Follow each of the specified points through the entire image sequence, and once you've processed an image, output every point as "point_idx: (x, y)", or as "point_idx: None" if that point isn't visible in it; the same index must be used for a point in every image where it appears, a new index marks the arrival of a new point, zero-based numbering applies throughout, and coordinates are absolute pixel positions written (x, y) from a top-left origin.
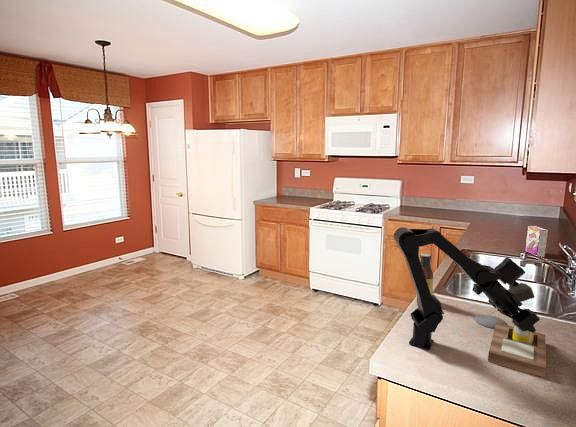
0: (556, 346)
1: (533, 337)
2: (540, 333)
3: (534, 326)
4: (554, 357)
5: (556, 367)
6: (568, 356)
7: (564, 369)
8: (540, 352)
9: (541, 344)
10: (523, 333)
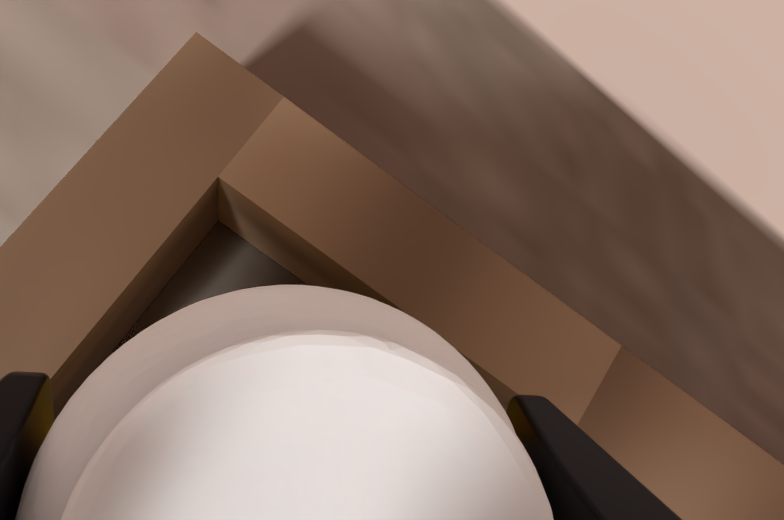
0: (291, 5)
1: (185, 237)
2: (154, 83)
3: (477, 374)
4: (542, 225)
5: (739, 356)
6: (512, 45)
7: (764, 293)
8: (732, 505)
9: (509, 326)
10: None
